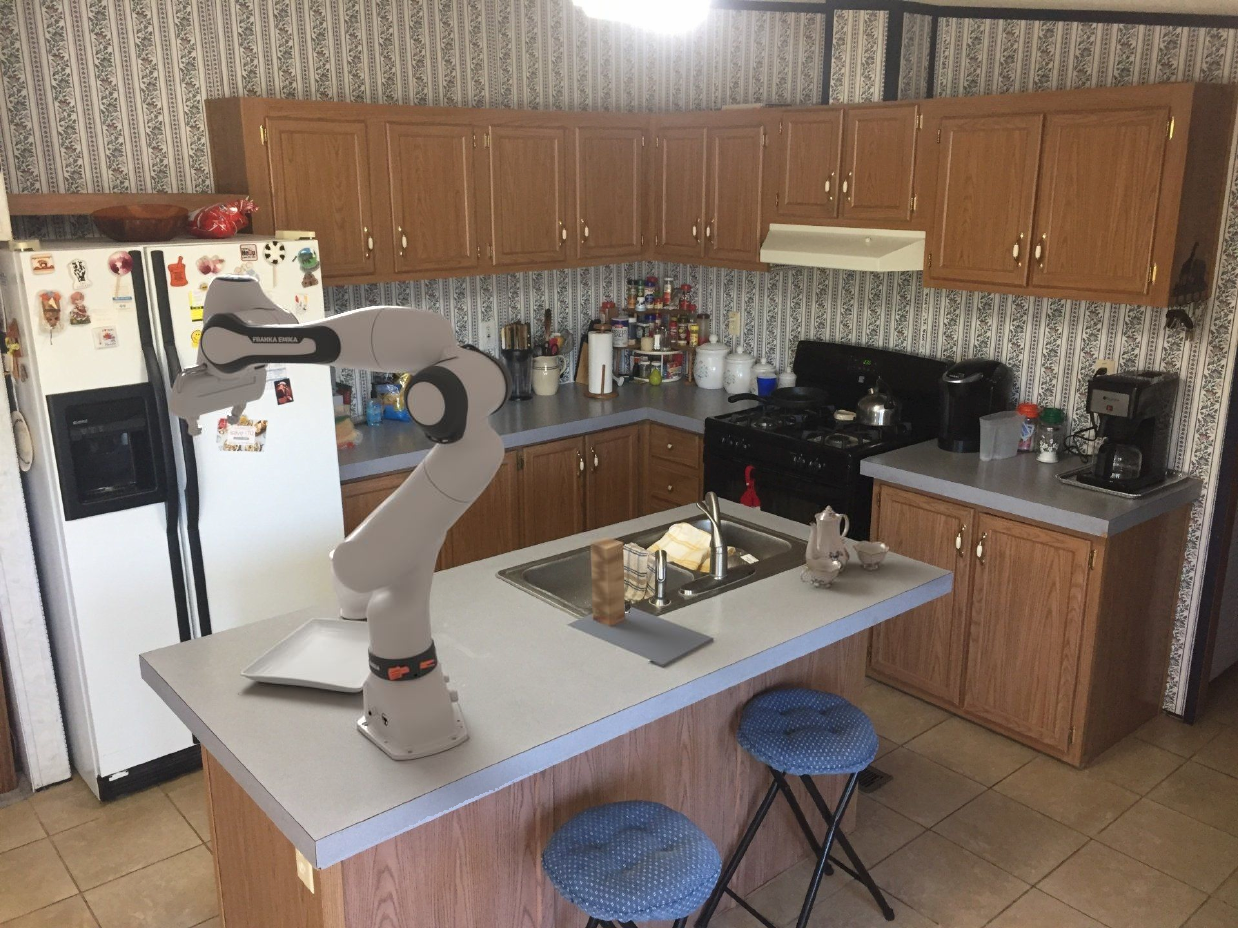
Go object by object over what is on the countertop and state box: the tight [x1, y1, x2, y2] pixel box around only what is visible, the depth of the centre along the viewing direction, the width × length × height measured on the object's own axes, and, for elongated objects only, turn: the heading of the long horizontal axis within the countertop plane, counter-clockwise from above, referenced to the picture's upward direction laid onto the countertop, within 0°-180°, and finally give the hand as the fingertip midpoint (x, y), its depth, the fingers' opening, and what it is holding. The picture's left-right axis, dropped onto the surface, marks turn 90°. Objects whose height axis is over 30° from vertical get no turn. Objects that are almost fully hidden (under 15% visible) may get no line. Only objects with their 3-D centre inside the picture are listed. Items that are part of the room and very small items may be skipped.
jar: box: [328, 548, 374, 621], centre depth 231 cm, size 11×10×15 cm
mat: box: [567, 606, 714, 668], centre depth 219 cm, size 28×16×1 cm, turn 46°
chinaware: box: [799, 505, 891, 589], centre depth 247 cm, size 28×17×17 cm, turn 132°
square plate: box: [239, 617, 370, 693], centre depth 209 cm, size 27×27×4 cm
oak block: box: [590, 537, 626, 626], centre depth 222 cm, size 5×5×18 cm
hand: (213, 428), depth 189 cm, fingers open, 8 cm apart
